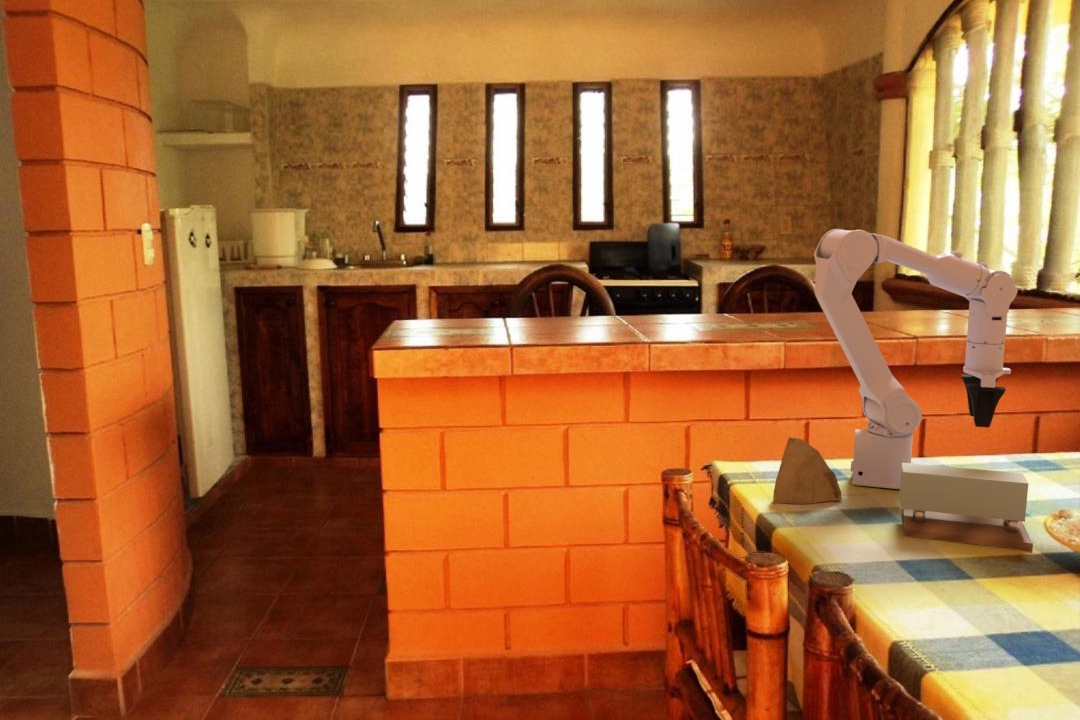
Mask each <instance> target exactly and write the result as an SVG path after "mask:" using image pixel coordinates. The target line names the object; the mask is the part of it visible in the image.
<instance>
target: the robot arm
mask: <svg viewBox="0 0 1080 720" xmlns="http://www.w3.org/2000/svg"><path fill="white" fill-rule="evenodd" d="M813 256H814V261H815V275H814V276H815V280H814V295H815V298H816V300H817V302H818V304H819V306H820V308H821V309H822V312H823V313H824V315H825V317H826V319H827V321H828V323H829V326H830V327H831V328H832V331H833V333H834V336H835V337H836V338H837V340H838V341H837V342H838V343H839V344H840V347H841V349H842V351H843V352H844V354H845V357H846V359H847V360H848V362H849V364H850V366H851V369H852V370H853V372H854V374H855V376H856V378H857V381H858V382H859V384H860V386H859V389H858V392H859V394H860V397H861V400H862V407H861V408H862V412H863V414H864V416H865V417H866V419H867V420H868V421H867V422H868V423H867V425H866V428H864V429H860V428H857V429H856V428H855V429H854V443H853V444H854V445H853V460H851V461H850V472H852V477H851V478H852V480H851V484H852V485H853V486H863V487H872V488H881V489H882V488H883V489H892V490H893V489H894V490H900V482H901V467H902V463H912V456H913V455H912V453H913V441H914V440H913V439H914V432H915V430H917V428H919V427H920V425H921V422H922V418H923V412H922V407H921V406H920V405H919V404H918V403H919V402H917V401H915V400H914V399H912V398H911V397H910V396H909V395H908V394H907V392H906V390H905V388H904V387H903V385H902V384H901V383H900V382H899V381H898V380H897V379H896V378H895V376H894V375H893V374H892V372H891V370H890V368H889V366H888V364H887V362H886V360H885V358H884V356H883V354H882V352H881V350H880V348H879V346H878V344H877V342H876V341H875V338H874V336H873V334H872V331H871V330H870V328H869V325H868V324H867V322H866V320H865V318H864V316H863V314H862V312H861V310H860V308H859V306H858V303H857V302H856V300H855V299H854V296H853V294H852V293H853V290H854V288H855V286H856V284H857V281H859V279H860V278H861V277H862V275H864V274H865V272H866V271H867V269H869V268H870V267H871V265H872V264H880V263H884V262H889V263H890V264H891V263H892V264H894V265H898V266H901V267H903V268H907V269H910V270H913V271H916V272H919V273H921V274H925V276H926V278H927V280H928V282H929V284H930V285H932V286H934V287H936V288H940V289H942V290H945V291H948V292H950V293H953V294H955V295H959V296H962V297H963V298H965V299H967V301H969V305H968V306H969V307H968V316H967V317H968V319H967V330H966V331H967V332H966V345H965V346H966V347H965V355H964V357H965V358H964V366H963V372H964V374H961V375H960V376H961V379H962V381H963V384H964V387H965V390H966V396H967V397H966V398H967V405H968V411H969V415H970V417H973V424H974V426H975V427H976V428H990V427H991V425H992V422H993V418H994V415H995V412H996V409H997V407H998V404H999V402H1000V400H1001V398H1002V397H1003V396H1004V394H1005V392H1006V387H1005V386H996V383H997V382H998V380H999V377H1001V376H1004V375H1011V372H1012V369H1010V367H1009V368H1008V367H1004V361H1005V360H1004V357H1005V347H1006V337H1007V336H1006V335H1007V334H1006V333H1007V325H1008V324H1007V323H1008V313H1009V310H1010V305H1011V303H1012V302H1013V301H1014V300H1015V298H1016V297H1017V294H1018V291H1019V288H1018V287H1017V286H1016V283H1015V281H1014V278H1013V277H1012V275H1010V273H1008V272H1006V271H1004V270H996V269H989V264H988V263H986V262H981V261H979V262H974V261H972V260H969V259H966V258H965V257H963V253H962V252H958V251H956V250H955V251H954V250H952V251H951V252H947V251H945V252H941V253H939V254H937V255H933V254H930V253H928V252H926V251H923V250H921V249H918V248H916V247H914V246H911V245H909V244H907V243H905V242H901V241H900V240H897V239H894V238H893V237H890V236H886V235H883V234H878V233H874V232H873V233H870V232H868V231H867V230H862V229H856V230H855V229H853V230H846V229H843V228H834V229H831V230H829V231H827V232H826V233H824V235H823V236H822V237H821V238H820V240H819V241H818V244H817V246H816V248H815V250H814V252H813Z"/></svg>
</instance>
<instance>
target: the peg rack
mask: <svg viewBox="0 0 1080 720" xmlns="http://www.w3.org/2000/svg"><path fill="white" fill-rule="evenodd" d="M901 511H902V521H903V530H904V537H913V538H920V539H928V540H929V539H930V540H940V541H947V542H956V543H963V544H971V545H972V544H973V545H982V546H989V547H990V546H991V547H999V548H1005V549H1006V548H1007V549H1016V550H1017V549H1018V550H1026V551H1033V548H1034V547H1033V546H1034V544H1033V541H1032V539H1031V537H1030V534H1029V533H1028V531H1027V529H1026V527H1025V524H1024V523H1023V522H1024V521H1015V520H1006V519H996V518H987V517H977V516H968V515H958V514H949V513H939V512H930V511H920V510H911V509H902V510H901Z"/></svg>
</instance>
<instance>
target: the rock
mask: <svg viewBox="0 0 1080 720" xmlns="http://www.w3.org/2000/svg"><path fill="white" fill-rule="evenodd" d="M842 495H843V494H842V490H841V488H840V484H839V483H838V479H837V476H836V474H835V473H834V471H833V470H832V469H831V468H830V466H828V463H827V462H826V461H825V459H824V457H823V456H822V455H821V453H820V451H819V450H818V449H816V448H815V447H814V446H812V445H811V444H809V443H808V442H807V441H806V440H804V439H802V438H798V437H792V436H791V437H788V440H787V442H786V445H785V448H784V452H783V454H782V458H781V463H780V465H779V469H778V472H777V476H776V479H775V483H774V489H773V496H772V504H774V505H777V504H792V505H800V504H803V505H805V504H815V503H825V502H835V501H836V502H837V501H843V497H842Z"/></svg>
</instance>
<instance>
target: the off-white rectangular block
mask: <svg viewBox="0 0 1080 720" xmlns="http://www.w3.org/2000/svg"><path fill="white" fill-rule="evenodd" d="M1028 491H1029V482H1028V480H1027V479H1026V476H1025V475H1024V474H1023V472H1022V473H1021V472H1011V471H1000V470H988V469H979V468H978V469H976V468H967V467H958V466H957V467H955V466H946V465H945V466H944V465H935V464H933V465H932V464H924V463H923V464H921V463H913V462H911V463H902V467H901V482H900V489H899V508H900V509H911V510H920V511H930V512H939V513H949V514H958V515H968V516H977V517H987V518H996V519H1006V520H1015V521H1022V522H1026V514H1027V503H1028V495H1029V494H1028V493H1029V492H1028Z"/></svg>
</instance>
